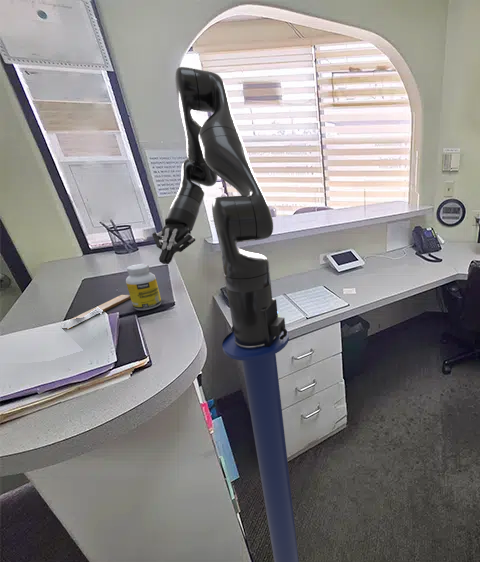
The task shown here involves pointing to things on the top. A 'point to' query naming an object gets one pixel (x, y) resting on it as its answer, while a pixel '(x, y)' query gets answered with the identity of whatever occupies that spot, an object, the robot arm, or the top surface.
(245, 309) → the robot arm
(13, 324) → the top surface
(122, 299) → the ruler
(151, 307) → the pill bottle
